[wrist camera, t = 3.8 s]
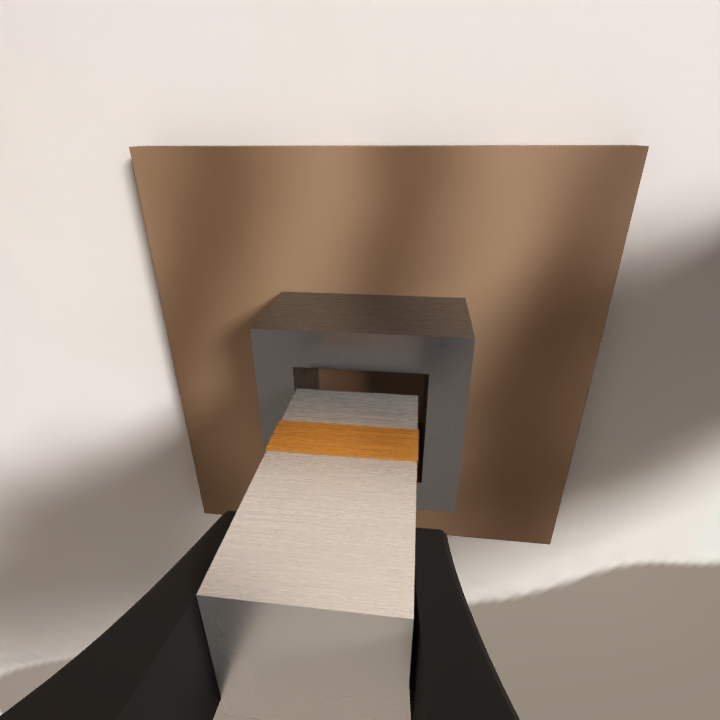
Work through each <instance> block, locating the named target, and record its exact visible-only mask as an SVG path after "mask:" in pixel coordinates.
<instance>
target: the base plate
mask: <svg viewBox="0 0 720 720" xmlns="http://www.w3.org/2000/svg"><path fill="white" fill-rule="evenodd" d="M129 148H130V153H131V158H132V163H133V168H134V173H135V177H136V182H137V187H138V192H139V197H140V202H141V207H142V211H143V216H144V221H145V226H146V231H147V236H148V240H149V245H150V250H151V255H152V260H153V265H154V269H155V274H156V279H157V284H158V289H159V294H160V299H161V303H162V308H163V313H164V318H165V323H166V328H167V332H168V337H169V342H170V347H171V352H172V357H173V362H174V366H175V371H176V376H177V381H178V386H179V391H180V395H181V400H182V405H183V410H184V415H185V420H186V425H187V429H188V434H189V439H190V444H191V449H192V454H193V458H194V463H195V468H196V473H197V478H198V483H199V488H200V492H201V497H202V502H203V507H204V512H205V513H211V514H222V515H223V514H224V513H225V512H227V511H237V510H238V508H239V506H240V504H241V502H242V500H243V498H244V496H245V494H246V492H247V490H248V488H249V486H250V484H251V482H252V479H253V477H254V475H255V473H256V471H257V469H258V467H259V465H260V463H261V461H262V459H263V457H264V455H265V450H264V441H263V433H262V425H261V416H260V408H259V400H258V391H257V383H256V375H255V366H254V358H253V350H252V341H251V333H250V328H251V327H252V326H253V325H254V323H255V322H256V321H257V320H258V319H259V318H260V316H261V315H262V314H263V313H264V312H265V311H266V310H267V308H268V307H269V306H270V305H271V304H272V303H273V302H274V300H275V299H276V298H277V297H278V296H279V295H280V294H281V292H282V291H283V292H312V293H341V294H370V295H399V296H427V297H456V298H466V302H467V306H468V310H469V314H470V319H471V323H472V327H473V331H474V335H475V347H474V355H473V364H472V372H471V381H470V390H469V398H468V407H467V416H466V424H465V433H464V441H463V450H462V459H461V467H460V476H459V484H458V493H457V502H456V510H455V513H449V512H438V511H426V510H416V527H417V528H428V529H439V530H443V531H444V532H445V533H446V534H447V535H453V536H464V537H475V538H486V539H497V540H508V541H519V542H530V543H541V544H550V543H551V538H552V534H553V530H554V526H555V522H556V518H557V514H558V510H559V506H560V502H561V498H562V494H563V490H564V486H565V482H566V478H567V474H568V470H569V466H570V462H571V458H572V454H573V450H574V446H575V442H576V438H577V434H578V430H579V426H580V422H581V418H582V414H583V410H584V406H585V402H586V398H587V394H588V389H589V385H590V381H591V377H592V373H593V369H594V365H595V361H596V357H597V353H598V349H599V345H600V341H601V337H602V333H603V329H604V325H605V321H606V317H607V313H608V309H609V305H610V301H611V297H612V293H613V289H614V285H615V281H616V277H617V273H618V269H619V265H620V261H621V257H622V253H623V249H624V245H625V240H626V236H627V232H628V228H629V224H630V220H631V216H632V212H633V208H634V204H635V200H636V196H637V192H638V188H639V184H640V180H641V176H642V172H643V168H644V164H645V160H646V156H647V152H648V148H649V146H638V145H484V146H137V147H129ZM319 385H320V390H329V391H346V392H363V393H380V394H398V395H415V396H418V423H422V416H423V400H424V385H425V374H417V373H398V372H379V371H360V370H341V369H323V368H319Z"/></svg>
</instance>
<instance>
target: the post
mask: <svg viewBox="0 0 720 720" xmlns="http://www.w3.org/2000/svg"><path fill="white" fill-rule="evenodd" d="M418 446H419V430H418V396H415V395H398V394H380V393H363V392H346V391H329V390H312V389H296V391H295V393H294V396H293V398H292V400H291V402H290V404H289V406H288V408H287V410H286V412H285V414H284V416H283V418H282V420H280V421H279V423H278V425H277V427H276V429H275V431H274V433H273V435H272V437H271V439H270V441H269V443H268V445H267V447H266V453H265V455H264V457H263V459H262V461H261V463H260V465H259V467H258V469H257V471H256V473H255V475H254V477H253V479H252V482H251V484H250V486H249V488H248V490H247V492H246V494H245V496H244V498H243V500H242V502H241V504H240V506H239V508H238V510H237V512H236V514H235V516H234V518H233V520H232V522H231V525H230V527H229V529H228V531H227V533H226V535H225V537H224V539H223V541H222V543H221V545H220V547H219V549H218V551H217V553H216V555H215V557H214V559H213V561H212V563H211V565H210V568H209V570H208V572H207V574H206V576H205V578H204V580H203V582H202V584H201V586H200V588H199V590H198V592H197V594H196V596H197V600H198V604H199V609H200V613H201V617H202V621H203V625H204V629H205V633H206V637H207V641H208V646H209V650H210V654H211V658H212V662H213V666H214V670H215V674H216V678H217V683H218V687H219V691H220V695H221V699H222V703H223V707H224V711H225V714H226V715H232V716H239V717H246V718H253V719H260V720H406V717H407V704H408V690H409V676H410V663H411V649H412V635H413V621H414V578H415V529H416V488H417V472H418Z"/></svg>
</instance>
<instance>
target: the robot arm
mask: <svg viewBox="0 0 720 720" xmlns="http://www.w3.org/2000/svg"><path fill="white" fill-rule="evenodd" d="M236 512H237V511H227V512H225V513H224V514H223V515H222V516H221V517H220V518H219V519H218V520H217V521H216V523H215V524H214V525H213V526H212V527H211V528H210V529H209V530H208V531H207V532H206V533H205V534H204V535H203V536H202V537H201V539H200V540H199V541H198V542H197V543H196V544H195V545H194V546H193V547H192V548H191V549H190V550H189V551H188V552H187V553H186V554H185V555H184V556H183V557H182V558H181V559H180V561H179V562H178V563H177V564H176V565H175V566H174V567H173V568H172V569H171V570H170V571H169V572H168V573H167V574H166V575H165V576H164V577H163V578H162V579H161V580H160V581H159V582H158V583H157V584H156V585H155V586H154V587H153V588H152V589H151V590H150V591H148V592H147V593H146V594H145V595H144V596H143V597H142V598H141V599H140V600H139V601H138V602H137V603H136V604H135V605H134V606H133V607H131V608H130V609H129V610H128V611H127V612H126V613H125V614H124V615H123V616H122V617H121V618H120V619H118V620H117V621H116V622H115V623H114V624H113V625H112V626H111V627H110V628H109V629H108V630H106V631H105V632H104V633H103V634H102V635H101V636H100V637H99V638H97V639H96V640H95V641H94V642H93V643H92V644H90V645H89V646H88V647H87V648H86V649H85V650H83V651H82V652H81V653H80V654H79V655H78V656H76V657H75V658H74V659H73V660H71V661H70V662H69V663H68V664H67V665H65V666H64V667H63V668H62V669H61V670H59V671H58V672H57V673H56V674H54V675H53V676H52V677H51V678H49V679H48V680H47V681H46V682H44V683H43V684H42V685H40V686H39V687H38V688H36V689H35V690H34V691H32V692H31V693H30V694H29V695H27V696H26V697H25V698H23V699H22V700H21V701H19V702H18V703H17V704H15V705H14V706H13V707H12V708H10V709H9V710H8V711H6V712H5V713H4V714H2V715H1V716H0V720H213V718H214V715H215V712H216V710H217V707H218V705H219V702H220V700H221V695H220V691H219V687H218V683H217V678H216V674H215V670H214V666H213V662H212V658H211V654H210V650H209V646H208V641H207V637H206V633H205V629H204V625H203V621H202V617H201V613H200V609H199V604H198V600H197V596H196V594H197V592H198V590H199V588H200V586H201V584H202V582H203V580H204V578H205V576H206V574H207V572H208V570H209V568H210V565H211V563H212V561H213V559H214V557H215V555H216V553H217V551H218V549H219V547H220V545H221V543H222V541H223V539H224V537H225V535H226V533H227V531H228V529H229V527H230V525H231V522H232V520H233V518H234V516H235V514H236ZM409 688H410V709H411V720H519V717H518V715H517V713H516V711H515V710H514V708H513V705H512V704H511V701H510V699H509V697H508V695H507V693H506V691H505V689H504V687H503V685H502V683H501V681H500V679H499V676H498V674H497V672H496V670H495V668H494V666H493V664H492V661H491V659H490V657H489V655H488V653H487V650H486V648H485V646H484V643H483V641H482V639H481V636H480V634H479V631H478V629H477V627H476V624H475V622H474V619H473V617H472V614H471V612H470V609H469V607H468V604H467V601H466V599H465V596H464V593H463V591H462V588H461V585H460V582H459V579H458V576H457V573H456V570H455V566H454V563H453V560H452V556H451V552H450V548H449V544H448V539H447V534H446V533H445V532H444V531H443V530H439V529H428V528H417V527H416V529H415V578H414V621H413V635H412V649H411V663H410V676H409Z"/></svg>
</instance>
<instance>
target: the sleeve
mask: <svg viewBox="0 0 720 720" xmlns="http://www.w3.org/2000/svg"><path fill="white" fill-rule="evenodd" d="M250 333H251V341H252V350H253V358H254V366H255V375H256V383H257V391H258V400H259V408H260V416H261V425H262V433H263V441H264V450H265V453H266V447H267V445H268V443H269V441H270V439H271V437H272V435H273V433H274V431H275V429H276V427H277V425H278V423H279V421H280V420H282V418H283V416H284V414H285V412H286V410H287V408H288V406H289V404H290V402H291V400H292V398H293V396H294V393H295V391H296V389H312V390H320V385H319V368H323V369H341V370H360V371H379V372H398V373H417V374H425V385H424V400H423V416H422V423H418V430H419V446H418V472H417V488H416V510H426V511H438V512H449V513H455V510H456V502H457V493H458V484H459V476H460V467H461V459H462V450H463V441H464V433H465V424H466V416H467V407H468V398H469V390H470V381H471V372H472V364H473V355H474V347H475V335H474V331H473V327H472V323H471V319H470V314H469V310H468V306H467V302H466V298H456V297H427V296H399V295H370V294H341V293H312V292H283V291H282V292H281V294H280V295H279V296H278V297H277V298H276V299H275V300H274V302H273V303H272V304H271V305H270V306H269V307H268V308H267V310H266V311H265V312H264V313H263V314H262V315H261V316H260V318H259V319H258V320H257V321H256V322H255V323H254V325H253V326H252V327H251V328H250Z"/></svg>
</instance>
